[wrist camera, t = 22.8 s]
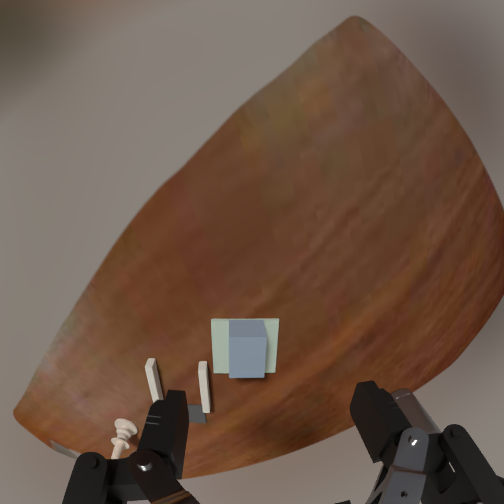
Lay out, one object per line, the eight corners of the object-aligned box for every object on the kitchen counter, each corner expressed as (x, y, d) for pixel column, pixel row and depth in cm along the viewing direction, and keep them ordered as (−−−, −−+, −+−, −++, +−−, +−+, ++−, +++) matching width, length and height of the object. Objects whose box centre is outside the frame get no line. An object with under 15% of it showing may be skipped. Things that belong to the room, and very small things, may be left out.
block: (261, 358, 42) (264, 377, 37) (229, 358, 42) (229, 377, 37) (263, 319, 41) (266, 337, 36) (229, 319, 40) (228, 337, 35)
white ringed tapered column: (114, 415, 45) (99, 450, 35) (137, 422, 46) (125, 459, 36) (115, 429, 46) (103, 463, 36) (138, 436, 47) (127, 471, 37)
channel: (212, 422, 46) (211, 431, 44) (162, 418, 45) (160, 427, 43) (207, 361, 42) (205, 370, 40) (148, 358, 42) (144, 366, 39)
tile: (274, 370, 44) (275, 372, 43) (214, 371, 43) (213, 373, 42) (278, 318, 41) (279, 320, 41) (211, 318, 41) (211, 320, 40)
